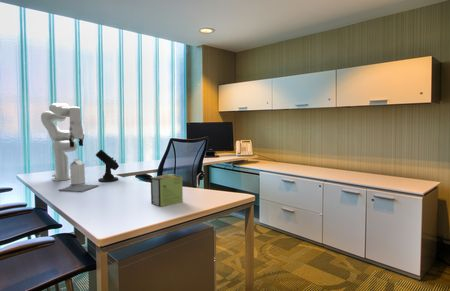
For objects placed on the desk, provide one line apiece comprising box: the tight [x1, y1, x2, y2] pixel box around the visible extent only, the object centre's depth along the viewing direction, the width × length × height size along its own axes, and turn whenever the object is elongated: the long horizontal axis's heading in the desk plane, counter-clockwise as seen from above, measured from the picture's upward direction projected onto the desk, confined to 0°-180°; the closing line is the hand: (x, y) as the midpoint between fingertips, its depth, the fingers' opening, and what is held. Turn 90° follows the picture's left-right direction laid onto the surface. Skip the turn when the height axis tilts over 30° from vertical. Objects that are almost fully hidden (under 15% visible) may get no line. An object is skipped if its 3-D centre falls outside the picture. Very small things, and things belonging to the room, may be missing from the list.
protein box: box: [150, 173, 184, 208], centre depth 173 cm, size 10×15×16 cm
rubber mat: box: [58, 183, 100, 193], centre depth 210 cm, size 18×18×1 cm
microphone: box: [95, 149, 120, 183], centre depth 237 cm, size 15×17×25 cm
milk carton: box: [69, 157, 86, 185], centre depth 225 cm, size 7×7×19 cm
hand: (76, 146), depth 223 cm, fingers open, 9 cm apart
